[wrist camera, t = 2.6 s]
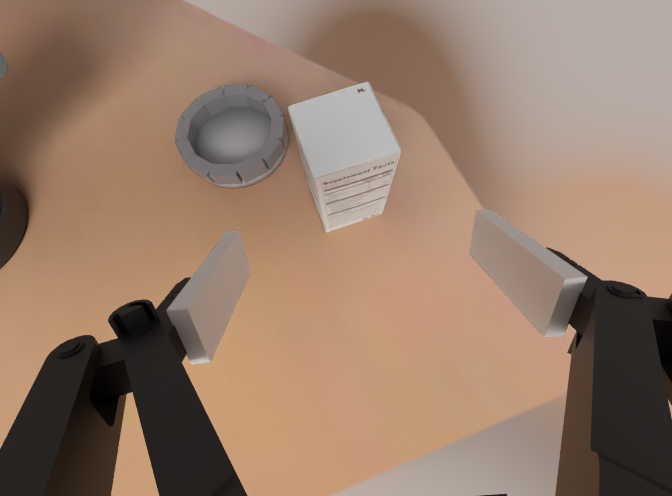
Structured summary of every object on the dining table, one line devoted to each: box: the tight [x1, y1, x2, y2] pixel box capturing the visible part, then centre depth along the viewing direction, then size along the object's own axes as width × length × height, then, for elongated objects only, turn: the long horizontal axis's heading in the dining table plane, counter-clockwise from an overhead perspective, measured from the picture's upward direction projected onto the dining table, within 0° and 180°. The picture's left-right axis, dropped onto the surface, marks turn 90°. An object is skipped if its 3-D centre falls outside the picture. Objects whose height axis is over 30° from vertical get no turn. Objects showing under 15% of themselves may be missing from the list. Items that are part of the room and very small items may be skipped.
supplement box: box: [288, 82, 402, 233], centre depth 28 cm, size 7×7×13 cm
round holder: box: [175, 85, 288, 188], centre depth 36 cm, size 13×13×3 cm
